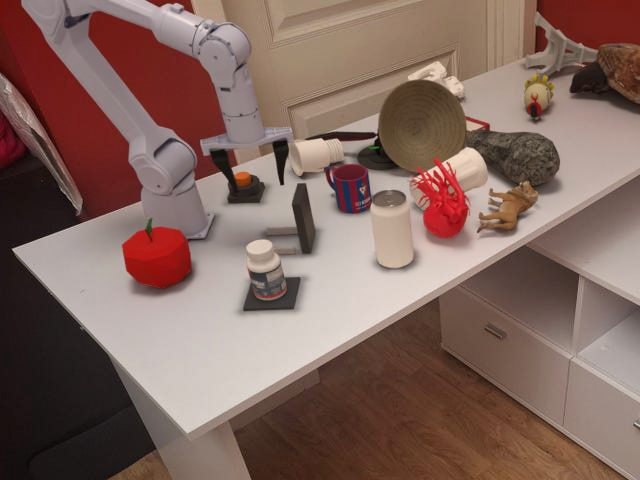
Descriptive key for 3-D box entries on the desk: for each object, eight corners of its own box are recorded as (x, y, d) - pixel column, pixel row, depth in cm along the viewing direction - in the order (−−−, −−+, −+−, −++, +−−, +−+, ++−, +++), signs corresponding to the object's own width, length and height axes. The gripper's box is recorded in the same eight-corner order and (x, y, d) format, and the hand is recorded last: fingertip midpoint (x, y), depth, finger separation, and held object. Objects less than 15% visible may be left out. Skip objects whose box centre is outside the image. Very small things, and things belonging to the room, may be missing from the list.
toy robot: (376, 175, 143) (369, 118, 135) (346, 153, 150) (338, 99, 142) (424, 157, 148) (420, 102, 140) (393, 137, 155) (388, 84, 147)
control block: (228, 203, 136) (224, 189, 134) (234, 187, 140) (231, 174, 138) (259, 202, 136) (256, 188, 134) (264, 187, 140) (261, 173, 138)
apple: (191, 294, 115) (172, 242, 108) (125, 297, 114) (102, 246, 107) (204, 256, 123) (187, 207, 116) (142, 260, 122) (121, 210, 115)
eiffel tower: (524, 64, 187) (625, 78, 195) (537, 83, 177) (643, 97, 185) (536, 11, 178) (641, 28, 186) (550, 28, 168) (661, 45, 177)
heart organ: (428, 251, 121) (440, 186, 114) (400, 219, 129) (410, 157, 122) (477, 248, 126) (491, 185, 119) (447, 218, 134) (459, 158, 127)
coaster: (243, 310, 112) (242, 308, 111) (252, 280, 118) (252, 278, 117) (293, 309, 112) (293, 306, 112) (300, 279, 118) (300, 276, 117)
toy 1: (288, 169, 151) (284, 148, 151) (380, 138, 146) (375, 116, 147) (282, 165, 148) (278, 144, 149) (376, 133, 144) (371, 111, 145)
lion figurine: (496, 168, 131) (542, 180, 131) (493, 190, 136) (538, 201, 135) (474, 221, 123) (524, 234, 123) (472, 242, 128) (520, 255, 127)
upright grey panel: (260, 255, 123) (247, 205, 116) (267, 233, 128) (255, 184, 121) (310, 253, 123) (300, 203, 116) (315, 231, 128) (306, 182, 121)
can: (385, 273, 119) (377, 212, 110) (371, 254, 123) (363, 193, 115) (419, 263, 121) (415, 202, 113) (405, 244, 125) (399, 184, 117)
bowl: (370, 83, 144) (377, 74, 137) (455, 89, 150) (467, 81, 142) (372, 175, 147) (379, 171, 140) (456, 178, 153) (467, 174, 145)
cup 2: (420, 174, 126) (480, 145, 133) (399, 175, 133) (456, 147, 139) (436, 216, 130) (493, 185, 136) (414, 215, 136) (470, 186, 142)
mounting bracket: (457, 70, 164) (417, 91, 165) (467, 95, 168) (428, 115, 169) (445, 56, 173) (406, 76, 174) (455, 80, 177) (417, 99, 178)
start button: (234, 187, 135) (232, 179, 134) (237, 179, 137) (235, 171, 136) (250, 187, 135) (248, 178, 134) (253, 179, 137) (251, 171, 136)
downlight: (299, 185, 144) (343, 175, 148) (303, 163, 138) (349, 154, 142) (283, 154, 145) (327, 145, 150) (287, 131, 139) (333, 123, 144)
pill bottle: (248, 292, 114) (234, 247, 108) (274, 278, 117) (262, 233, 111) (267, 305, 112) (255, 260, 106) (293, 290, 115) (283, 245, 109)
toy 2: (548, 95, 155) (555, 67, 165) (516, 96, 156) (525, 68, 167) (549, 126, 160) (556, 97, 170) (518, 126, 161) (527, 97, 172)
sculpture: (583, 133, 175) (666, 129, 157) (561, 68, 166) (646, 55, 148) (622, 101, 182) (705, 94, 163) (602, 36, 173) (689, 21, 154)
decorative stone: (484, 151, 151) (456, 173, 146) (480, 108, 144) (450, 130, 139) (570, 178, 141) (542, 203, 136) (570, 133, 134) (540, 158, 129)
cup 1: (352, 217, 132) (347, 184, 127) (319, 198, 137) (314, 166, 132) (379, 203, 135) (375, 171, 131) (346, 186, 140) (341, 154, 136)
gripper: (283, 93, 115) (298, 168, 124) (191, 105, 112) (214, 182, 121) (288, 110, 110) (304, 187, 119) (193, 124, 107) (216, 202, 116)
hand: (259, 186), depth 120 cm, fingers open, 7 cm apart
